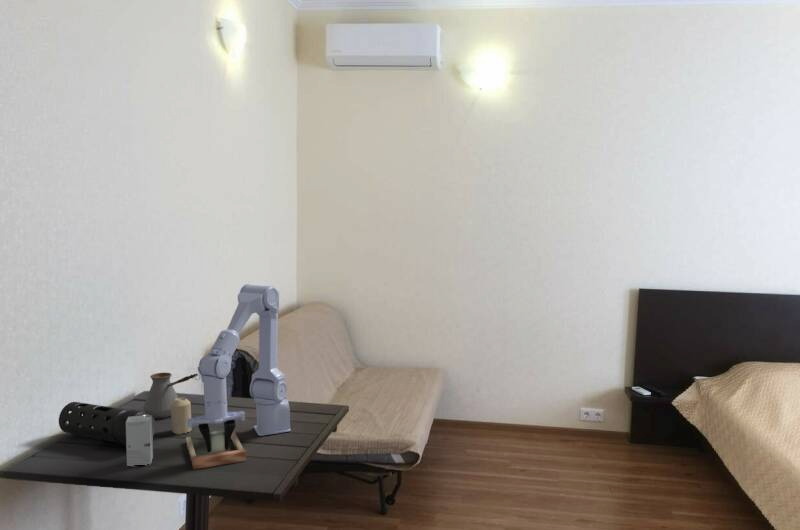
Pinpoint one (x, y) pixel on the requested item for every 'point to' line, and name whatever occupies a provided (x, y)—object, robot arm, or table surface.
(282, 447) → the table surface
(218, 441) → the pale green rounded cylinder
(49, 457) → the table surface
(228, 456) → the channel
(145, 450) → the skincare box
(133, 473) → the table surface
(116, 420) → the muzzle brake
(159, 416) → the coffee pot
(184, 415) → the candle
